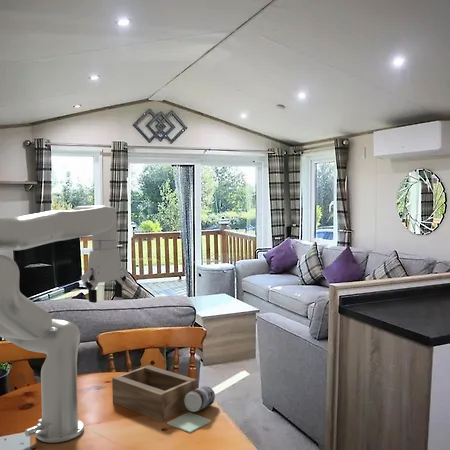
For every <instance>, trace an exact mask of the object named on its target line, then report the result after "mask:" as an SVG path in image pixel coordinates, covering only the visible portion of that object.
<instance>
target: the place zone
mask: <svg viewBox="0 0 450 450" xmlns="http://www.w3.org/2000/svg"><path fill="white" fill-rule="evenodd" d="M166 423H167V425H170V426H171V427H174V428H177V429H179V430H181V431H184V432H187V433H189V434H191V433H194V432H195V431H196V430H198V429H201V428H202V427H204V426H205V425H208V424H209V423H212V419H210V418H206V417H203V416H201V415H199V414H196V413H194V412H191V411H188V412H186V413H183V414H181V415H180V416H177V417H176V418H174V419H171V420H169V421H167V422H166Z"/></svg>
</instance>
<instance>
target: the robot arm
mask: <svg viewBox="0 0 450 450" xmlns="http://www.w3.org/2000/svg"><path fill="white" fill-rule="evenodd" d="M117 224H118V223H117V209H116V208H115V207H114V206H108V205H77V206H75V207H73V208H71V209H70V210H63V209H60V210H59V209H57V210H55V209H54V210H46V211H41V212H36V213H31V214H30V213H29V214H25V215H20V216H0V250H2V251H23V250H24V251H25V250H28V249H32V248H35V247H39V246H42V245H47V244H50V243H51V244H52V243H56V242H60V241H67V240H72V239H78V238H83V237H84V238H85V237H89V236H91V237H92V239H91V240H92V241H91V242H92V247H91V248H92V250H90V251H89V255H88V260H87V261H88V262H87V271H86V272H85V273H83V274H82V275H81V276H80V279H81V282H82V284H83V285H84V286H85V288H86V289H87V291H88V297H87V298H88V302H89V303H97V301H98V293H97V291H98V290H97V289H96V288H97V286H98V284H99V283H106V282H107V283H108V282H114V285H113V295H114V297H115V298H119V299H121V298H123V285H124V284H125V281H126V280H127V277H128V273H129V271H128V269H125V268H123V267H122V263H121V262H122V261H121V255H120V251H119V249H118V246H120V241H119V240H118V234H117V233H118V227H117ZM0 338H2V339H3V340H5V341H7V342H9V343H11V344H13V345H15V346H17V347H19V348H22V349H24V350H26V351H30V352H34V353H40V354H44V355H45V354H46V357H45V360H44V362H43V364H42V366H41V370H40V382H41V383H40V391H41V392H40V393H41V394H40V395H41V418H40V419H38V420H37V421H38V422H37V424H35V426H31V427H29V428H26V429H25V430H24V435H25V436H26V437H27V438H28V437H30V436H33V435H34V437H36V439H38V440H39V441H41V442H45V443H51V444H52V443H61V442H62V443H63V442H66V441H70V440H73V439H75V438H76V437H78V436H80V435H81V434H82V433H83V431H84V430H85V424H84V423H83V422H82V420H80V419H79V415H78V414H79V412H78V411H79V409H78V408H79V407H78V364H77V363H78V352H79V348H80V339H81V332H80V330H79V328H78V326H77V325H76V324H75V323H73V322H71V321H68V320H65V319H59V318H58V319H57V318H53V317H52V316H51V314H50V312H49V311H48V310H47V309H45V308H44V307H43V306H41V305H39V304H38V303H36V302H34V301H33V300H31V299H29V297H27V296H25V295H24V294H23V293H22V292H21V290H20V269H19V265H18V264H17V262H16V261H15V260H14V259H12V258H11V257H9V256H7V255H3V254H0Z"/></svg>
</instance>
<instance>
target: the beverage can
mask: <svg viewBox="0 0 450 450" xmlns="http://www.w3.org/2000/svg"><path fill="white" fill-rule="evenodd" d="M215 399H216V393H215V391H214V390H213V388H212V387H210V386H207V385H205V386H201V387H198V388H197V389H195V390H192V391H189V392H188V393H187V394H186V395H185V398H184V404H185V406H186V408H187V410H188V412H190V413H195V412H198V411H201V410H203V409H205V408H208V407H210V406H212V404H214V402H215Z"/></svg>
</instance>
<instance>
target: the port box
mask: <svg viewBox="0 0 450 450" xmlns="http://www.w3.org/2000/svg"><path fill="white" fill-rule="evenodd" d="M111 380H112V381H111V382H112V383H111V384H112V385H111V386H112V387H111V388H112V403H113V404H116V405H118V406H121V407H123V408H126V409H128V410H131V411H133V412H135V413H138V414H141V415H143V416H146V417H147V418H151V419H153V420H155V421H158V422H161V423H162V422H163V421H166V420H168V419H170V418H173V417H174V416H177V415H178V414H181V413H182V412H185V411H186V410H188V409H187V408H186V406H185V404H184V398H185V395H186V394H187V393H188V392H189V391H192V390H195V389H198V388H197V387H198V385H197V384H198V383H197V382H198V381H197V380H198V379H196V378H193V377H189V376H186V375H183V374H180V373H176V372H173V371H170V370H166V369H162V368H159V367H157V366H156V367H155V366H154V365H150V364H149V365H145V366H143V367H139V368H137V369H134V370H130V371H129V372H124V373H121V374H120V375H117V376H114V377H112V378H111Z"/></svg>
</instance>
